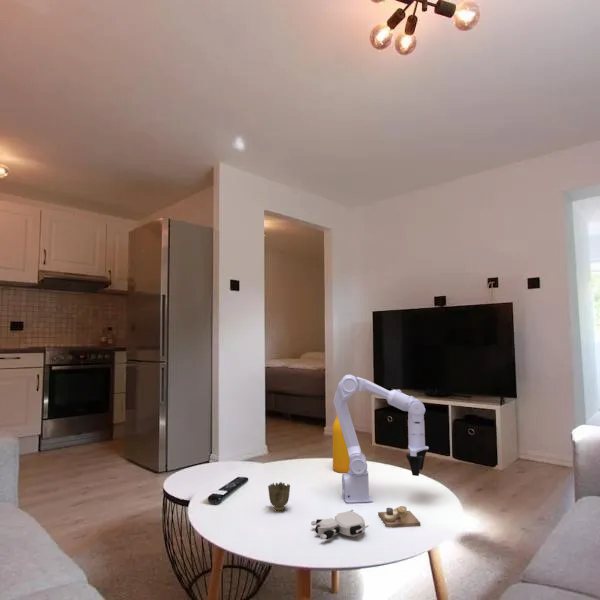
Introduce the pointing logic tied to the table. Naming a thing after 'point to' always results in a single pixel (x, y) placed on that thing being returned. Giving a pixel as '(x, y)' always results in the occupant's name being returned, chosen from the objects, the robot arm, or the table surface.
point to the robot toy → (340, 525)
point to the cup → (279, 495)
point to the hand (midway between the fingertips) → (417, 472)
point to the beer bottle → (339, 449)
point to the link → (394, 514)
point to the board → (402, 521)
